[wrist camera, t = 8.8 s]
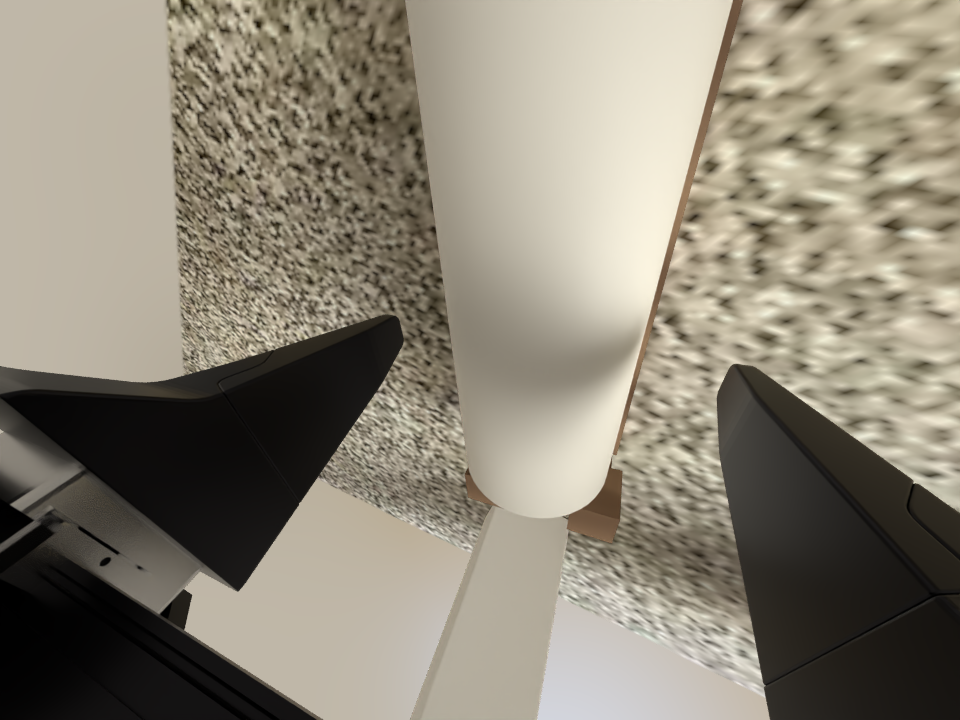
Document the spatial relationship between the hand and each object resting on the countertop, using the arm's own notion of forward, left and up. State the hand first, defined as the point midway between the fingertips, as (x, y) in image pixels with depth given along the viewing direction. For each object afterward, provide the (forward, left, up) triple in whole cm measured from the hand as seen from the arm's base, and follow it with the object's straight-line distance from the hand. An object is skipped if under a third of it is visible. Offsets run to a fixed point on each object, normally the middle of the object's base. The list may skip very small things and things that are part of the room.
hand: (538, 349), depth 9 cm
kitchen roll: (0, 0, -2) cm, 3 cm away
